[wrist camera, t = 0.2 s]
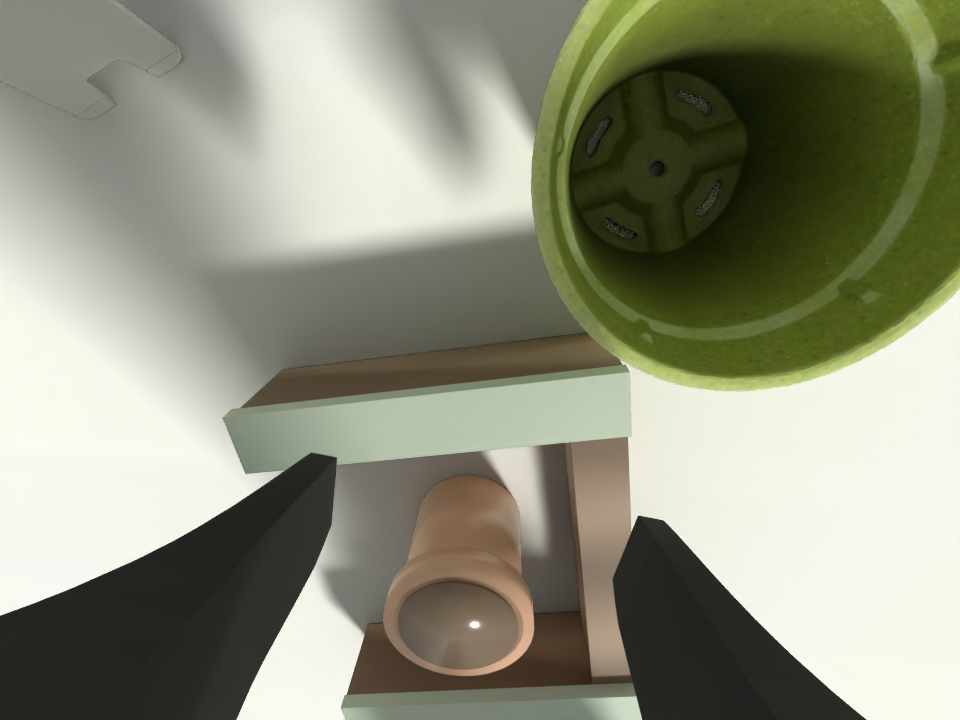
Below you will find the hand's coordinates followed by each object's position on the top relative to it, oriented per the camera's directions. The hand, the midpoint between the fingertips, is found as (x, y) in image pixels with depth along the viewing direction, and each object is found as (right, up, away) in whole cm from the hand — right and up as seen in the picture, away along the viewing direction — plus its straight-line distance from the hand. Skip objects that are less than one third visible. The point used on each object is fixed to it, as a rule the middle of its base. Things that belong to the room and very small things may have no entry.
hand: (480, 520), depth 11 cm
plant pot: (+6, +11, +6) cm, 14 cm away
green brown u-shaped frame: (0, -4, +12) cm, 13 cm away
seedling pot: (0, -4, +12) cm, 13 cm away
